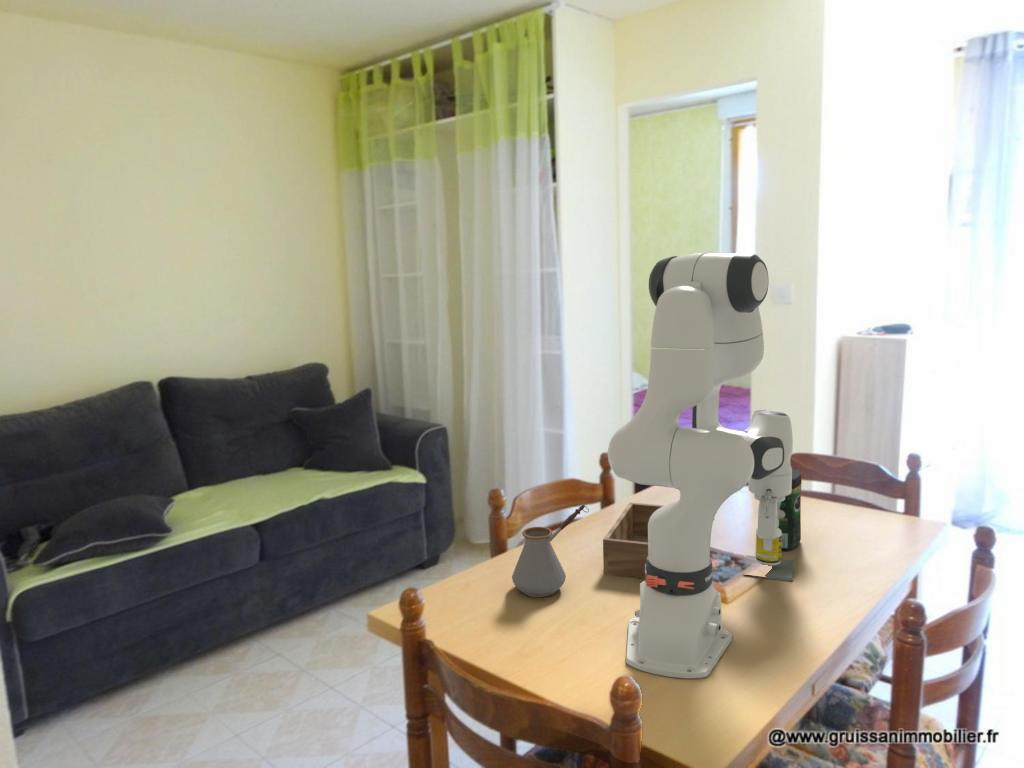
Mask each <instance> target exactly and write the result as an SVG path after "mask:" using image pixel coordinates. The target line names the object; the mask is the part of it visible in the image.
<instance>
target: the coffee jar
mask: <svg viewBox="0 0 1024 768" xmlns="http://www.w3.org/2000/svg"><path fill="white" fill-rule="evenodd" d="M791 468H792V491H791V494H789V495H787V496H785V500H784V501H782V502H781V504H780V509H779V518H778V519H779V527H778V528H779V529H780V530H781V531H782V546H781V550H788V551H789V550H793V549H795V548H796V547H797V546H798V545H799V544H800V542H801V539H802V538H801V537H802V535H801V534H802V531H801V529H802V528H801V527H802V526H801V525H802V524H801V523H802V522H801V514H802V513H801V512H802V510H801V502H802V500H801V499H802V498H801V497H802V496H801V495H802V473H801V471H799V470H798V469H797V467H792V466H791Z"/></svg>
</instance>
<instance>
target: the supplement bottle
mask: <svg viewBox="0 0 1024 768" xmlns="http://www.w3.org/2000/svg"><path fill="white" fill-rule="evenodd" d="M768 518H769V517H768ZM778 527H779V519H778V526H777V534H776V538H775V539H773V544H772V551H765V550H764V549H763V539H762V538H759V537H758V527H757V528H756V530H755V551H754V552H755V553H754V556H755V559H756V561H757V562H758V563H760V564H762V565H768V566H774V565H778V564H780V563H781V559H782V549H781V546H782V531H781V530H780V529H779V528H778Z"/></svg>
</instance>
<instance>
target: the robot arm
mask: <svg viewBox="0 0 1024 768" xmlns="http://www.w3.org/2000/svg"><path fill="white" fill-rule="evenodd" d="M769 280H770V279H769V272H768V268H767V265H766V263H765V262H764V260H763V259H762V258H760V256H759V255H757V254H754V253H750V252H742V251H741V252H740V251H739V252H736V253H733V252H731V253H729V252H726V253H725V252H711V253H709V252H698V253H691V254H685V255H681V256H677V255H673V256H667V257H666V258H662V259H660V260H658V261H657V262H656V264H655V265H654V266H653V268H652V269H651V272H650V273H649V279H648V292H649V295H650V298H651V300H652V302H653V304H654V306H655V312H654V316H653V322H652V328H651V339H650V358H649V372H648V373H649V374H648V383H647V388H646V393H645V396H644V399H643V402H642V404H641V405H640V407H639V409H638V411H637V412H636V413H635V415H634V416H633V417H632V418H631V419H630V420H629V421H628V422H627V423H625V424H623V426H621V427H620V428H619V429H618V430H617V431H615V432H614V434H613V436H612V437H611V438H610V441H609V444H608V449H607V458H608V460H607V461H608V464H609V466H610V468H611V470H612V472H613V474H614V475H615V476H617V477H618V478H620V479H623V480H626V481H629V482H632V483H635V484H638V485H641V486H642V485H645V486H652V487H662V488H669V489H671V488H672V489H676V490H678V491H679V500H677V501H673V502H670V503H668V504H665V505H664V506H663V507H661V508H659V509H657V510H656V511H655V512H654V513H653V514H652V515H651V517H650V519H649V522H648V536H647V543H648V556H647V558H646V564H645V579H644V580H643V581H642V582H640V583H639V602H640V603H639V604H640V605H639V609H635V611H634V615H635V616H633V617H630V618H629V619H628V624H627V626H628V627H627V640H626V654H625V663H626V664H628V665H629V666H630V667H632V668H635V669H637V670H640V671H642V672H645V673H649V674H654V675H659V676H664V677H671V678H676V679H702V678H707V677H708V676H709V675H710V673H712V671H713V669H714V668H715V666H716V665H717V663H718V661H719V660H720V658H721V657H722V655H723V654H724V653H725V651H726V649H728V646H730V644H731V643H732V641H733V638H732V636H733V635H732V633H731V632H730V631H729V630H727V629H725V628H723V621H722V620H723V619H722V618H723V617H722V594H721V592H719V591H718V590H717V589H716V587H714V585H713V578H714V576H713V575H714V567H713V561H712V559H711V538H712V530H713V529H712V528H713V523H714V520H715V517H716V515H717V513H718V511H719V509H720V508H721V507H722V505H723V503H725V501H726V500H728V499H729V498H730V497H731V496H733V495H734V494H736V493H738V492H739V491H741V490H742V489H743V488H745V486H747V484H748V491H749V492H750V493H751V494H754V495H753V496H754V499H755V500H757V501H759V502H758V510H757V528H758V537H759V538H762V539H763V549H764V550H765V551H772V544H773V539H775V538H776V534H777V526H778V518H779V509H780V504H781V502H782V501H784V500H785V496H787V495H789V494H791V491H792V468H791V467H792V465H791V464H792V463H791V458H792V454H793V451H794V450H793V443H794V442H793V441H794V440H793V438H794V437H793V427H792V422H791V417H790V416H789V415H787V414H786V413H784V412H779V411H773V410H766V409H758V410H754V411H753V412H752V415H751V420H750V421H751V422H750V425H749V426H748V427H746V428H745V429H744V430H739V429H733V428H726V427H724V426H723V425H722V424H721V422H719V414H720V413H719V409H720V390H721V388H722V385H724V384H727V383H730V382H734V381H737V380H740V379H741V378H744V377H746V376H748V375H749V374H751V373H752V372H753V371H755V370H756V369H757V368H758V367H759V365H760V363H761V362H762V360H763V357H764V352H765V343H764V340H765V339H764V332H763V325H762V324H763V322H762V319H761V313H760V308H759V306H760V305H761V304H762V303H763V302H764V300H765V299H766V297H767V294H768V289H769V283H770V282H769ZM691 408H692V413H691V414H692V415H691V416H692V417H691V422H692V423H691V424H692V425H691V427H683V426H679V419H680V416H681V415H682V413H683V412H684V411H686V410H690V409H691ZM768 517H769V518H768Z"/></svg>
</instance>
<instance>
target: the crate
mask: <svg viewBox="0 0 1024 768" xmlns="http://www.w3.org/2000/svg"><path fill="white" fill-rule="evenodd" d="M663 506H665V505H663V504H662V505H661V504H651V503H638V502H628V505H627V506H626V507H625V509H624V510H623V511H622V513H621V514H620V515H619V517H618V518H617V520H616V521H615V523H614V524H613V525H612V526H611V528H610V529H609V530H608V532H607V534H606V535H605V536H604V537H603V539H602V555H603V556H602V559H603V562H602V563H603V565H602V566H603V574H604V575H609V576H610V575H611V576H618V577H624V578H625V577H626V578H634V579H642V580H643V579H644V580H645V564H646V558H647V556H648V542H645V541H644V542H643V541H636V540H631V539H632V537H633V536H636V535H637V536H645V537H648V522H649V519H650V517H651V515H652V514H653V513H654V512H655V511H656V510H657V509H659V508H661V507H663Z"/></svg>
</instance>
